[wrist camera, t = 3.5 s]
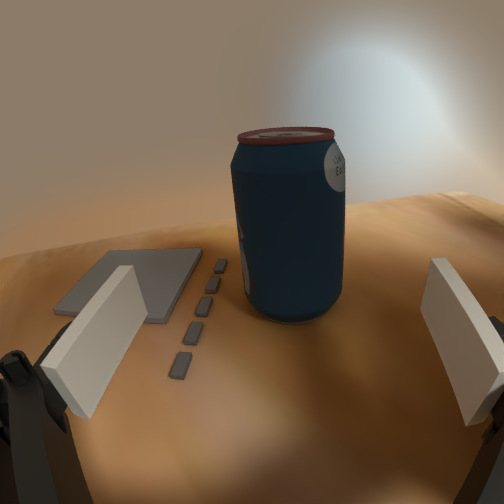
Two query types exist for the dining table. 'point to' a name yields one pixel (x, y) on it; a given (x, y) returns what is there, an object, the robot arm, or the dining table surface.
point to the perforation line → (197, 324)
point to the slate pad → (138, 279)
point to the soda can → (290, 220)
